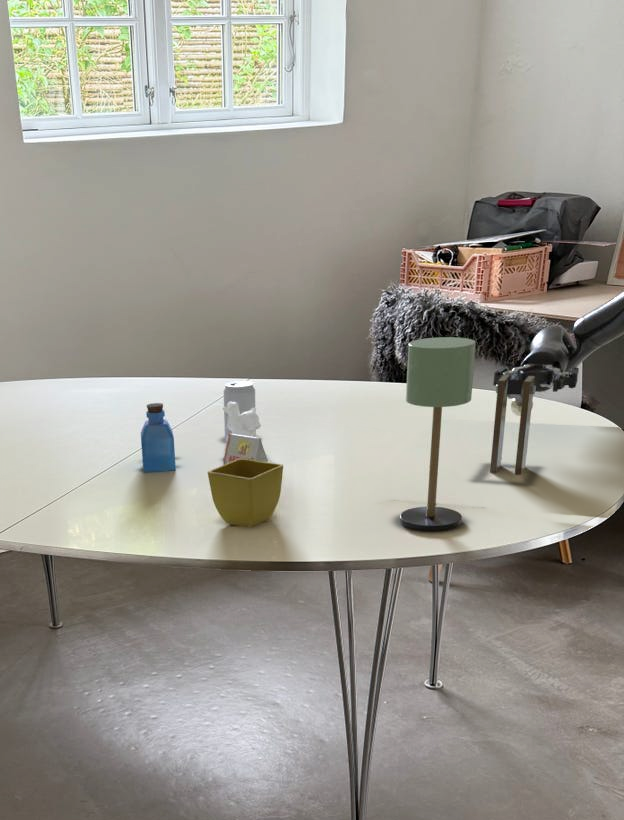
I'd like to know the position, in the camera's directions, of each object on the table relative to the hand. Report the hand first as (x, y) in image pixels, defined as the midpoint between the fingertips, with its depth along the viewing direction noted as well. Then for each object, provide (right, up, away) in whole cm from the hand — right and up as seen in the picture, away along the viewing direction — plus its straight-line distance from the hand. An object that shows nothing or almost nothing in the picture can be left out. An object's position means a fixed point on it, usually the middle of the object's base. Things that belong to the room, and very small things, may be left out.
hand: (529, 385), depth 169 cm
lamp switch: (-6, -6, -9) cm, 12 cm away
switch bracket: (-7, -18, -7) cm, 20 cm away
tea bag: (-51, -20, -3) cm, 55 cm away
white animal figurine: (-50, -12, +13) cm, 53 cm away
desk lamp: (-25, -28, -25) cm, 45 cm away
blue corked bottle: (-66, -12, +15) cm, 69 cm away
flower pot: (-52, -27, -18) cm, 62 cm away
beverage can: (-49, -5, +27) cm, 56 cm away
